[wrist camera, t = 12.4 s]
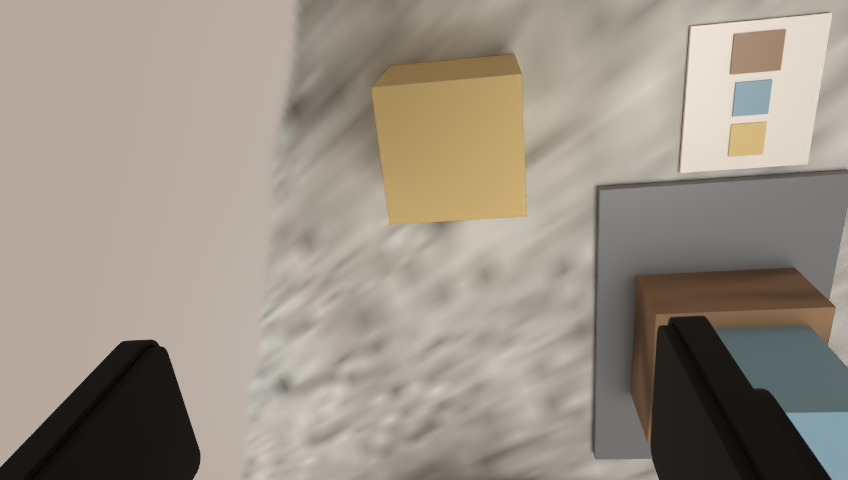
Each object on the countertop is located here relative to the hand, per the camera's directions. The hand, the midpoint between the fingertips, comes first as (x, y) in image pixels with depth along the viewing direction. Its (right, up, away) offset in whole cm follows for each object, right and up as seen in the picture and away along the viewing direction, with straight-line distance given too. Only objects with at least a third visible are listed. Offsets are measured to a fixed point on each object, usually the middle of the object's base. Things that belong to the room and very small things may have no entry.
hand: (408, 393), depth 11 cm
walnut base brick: (+16, -2, +22) cm, 27 cm away
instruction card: (+16, +10, +17) cm, 25 cm away
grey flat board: (+16, -2, +23) cm, 28 cm away
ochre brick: (+2, +9, +19) cm, 21 cm away
